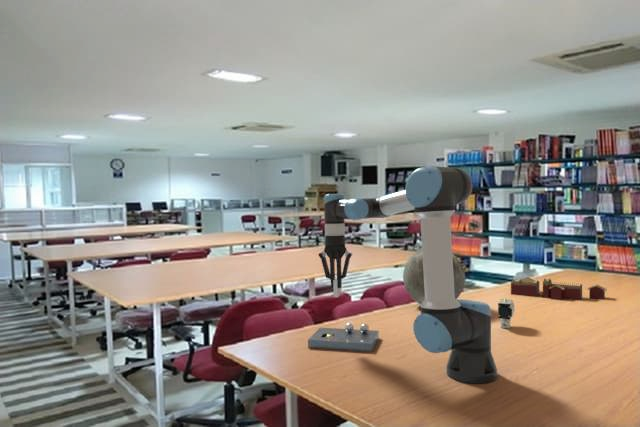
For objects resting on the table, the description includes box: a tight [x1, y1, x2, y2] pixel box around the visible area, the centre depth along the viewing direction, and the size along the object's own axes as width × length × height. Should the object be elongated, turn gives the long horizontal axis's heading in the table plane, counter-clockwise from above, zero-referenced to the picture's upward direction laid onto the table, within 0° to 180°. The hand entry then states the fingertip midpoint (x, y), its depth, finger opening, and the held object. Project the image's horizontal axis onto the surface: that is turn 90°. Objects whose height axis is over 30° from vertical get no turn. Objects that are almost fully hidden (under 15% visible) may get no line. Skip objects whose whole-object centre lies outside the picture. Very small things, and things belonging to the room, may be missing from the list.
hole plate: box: [307, 327, 380, 353], centre depth 185 cm, size 17×24×3 cm
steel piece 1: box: [344, 322, 355, 332], centre depth 190 cm, size 3×3×3 cm
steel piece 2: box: [359, 323, 370, 333], centre depth 188 cm, size 3×3×3 cm
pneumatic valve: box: [497, 298, 515, 330], centre depth 202 cm, size 6×12×12 cm, turn 152°
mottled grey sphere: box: [402, 248, 466, 305], centre depth 241 cm, size 30×30×30 cm
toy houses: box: [510, 276, 608, 301], centre depth 260 cm, size 45×20×10 cm, turn 55°
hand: (336, 296), depth 183 cm, fingers closed
